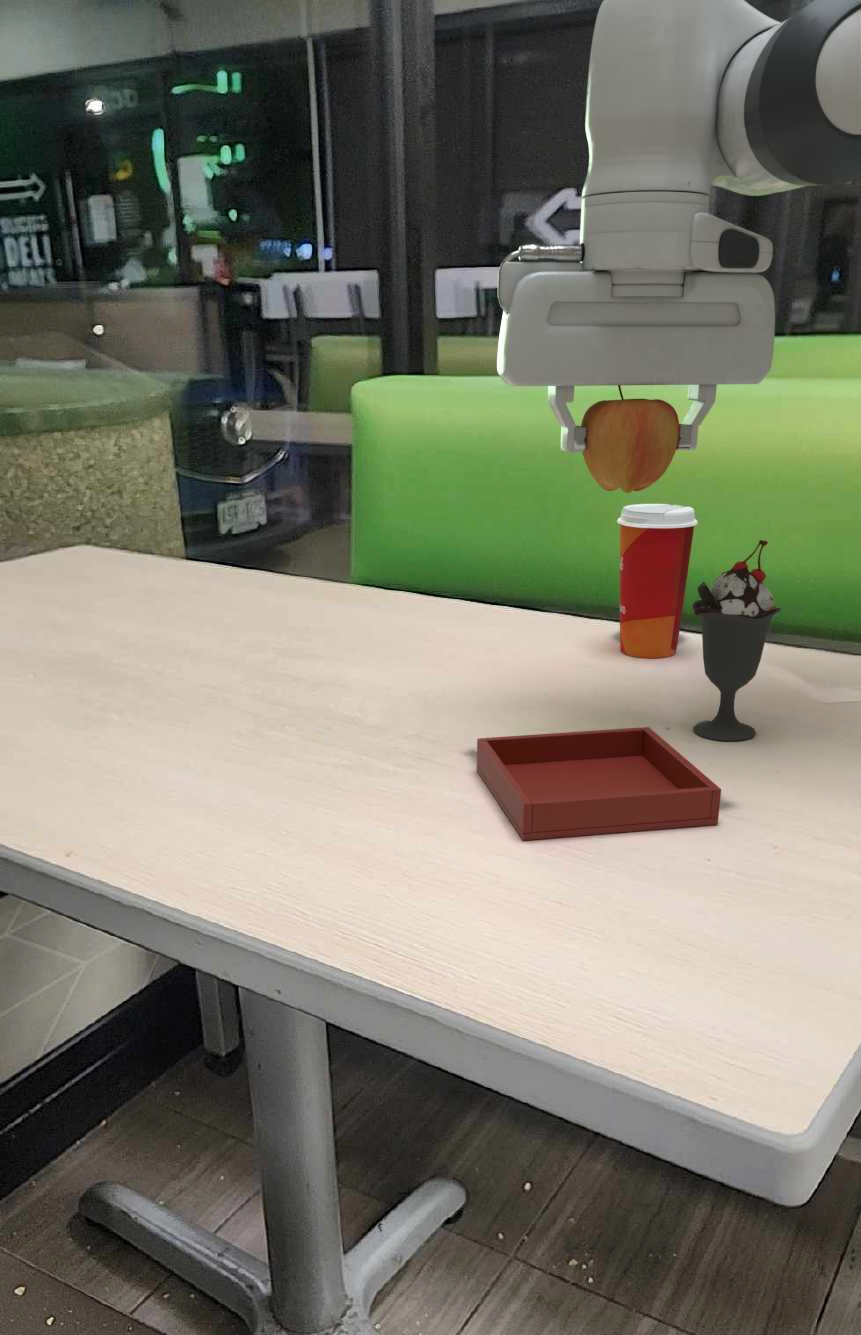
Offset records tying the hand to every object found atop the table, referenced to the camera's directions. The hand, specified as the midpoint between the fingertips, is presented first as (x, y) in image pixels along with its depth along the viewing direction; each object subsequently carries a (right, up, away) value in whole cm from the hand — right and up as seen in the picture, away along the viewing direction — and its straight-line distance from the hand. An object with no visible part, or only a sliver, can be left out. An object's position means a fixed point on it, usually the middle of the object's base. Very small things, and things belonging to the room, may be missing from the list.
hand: (628, 450), depth 88 cm
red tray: (-4, -26, -7) cm, 27 cm away
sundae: (+9, -21, +6) cm, 23 cm away
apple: (0, -3, +1) cm, 3 cm away
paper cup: (+7, -10, +30) cm, 32 cm away
